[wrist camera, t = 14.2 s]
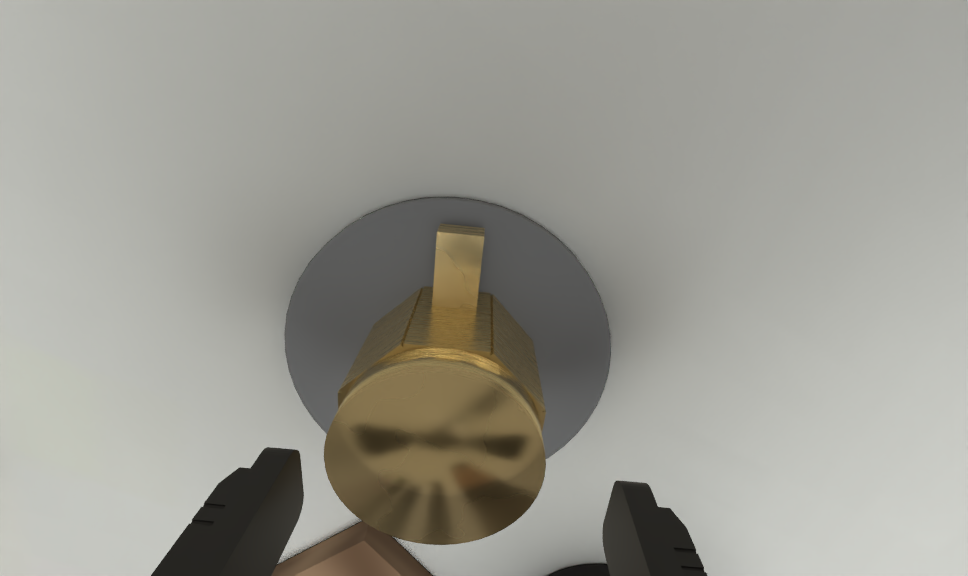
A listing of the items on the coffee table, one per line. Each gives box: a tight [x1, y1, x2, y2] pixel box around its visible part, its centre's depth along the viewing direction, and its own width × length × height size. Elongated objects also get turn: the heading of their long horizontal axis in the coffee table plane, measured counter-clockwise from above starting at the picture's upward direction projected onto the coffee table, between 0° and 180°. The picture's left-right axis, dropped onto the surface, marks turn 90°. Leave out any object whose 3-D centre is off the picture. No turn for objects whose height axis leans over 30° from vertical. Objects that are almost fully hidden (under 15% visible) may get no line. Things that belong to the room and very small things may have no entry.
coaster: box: [285, 197, 611, 459], centre depth 17 cm, size 12×12×1 cm
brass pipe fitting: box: [324, 223, 546, 545], centre depth 14 cm, size 11×6×5 cm, turn 174°
